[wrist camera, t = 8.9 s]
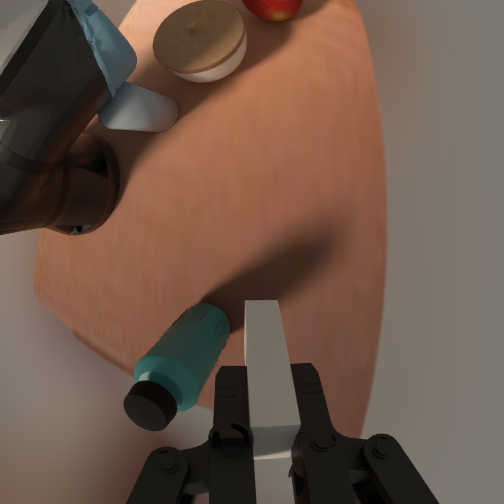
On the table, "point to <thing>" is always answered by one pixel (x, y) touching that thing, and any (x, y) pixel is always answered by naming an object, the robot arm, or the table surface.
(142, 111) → the post
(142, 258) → the table surface
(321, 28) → the table surface
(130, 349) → the table surface
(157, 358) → the beverage bottle
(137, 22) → the table surface
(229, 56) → the lidded jar
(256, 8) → the apple
